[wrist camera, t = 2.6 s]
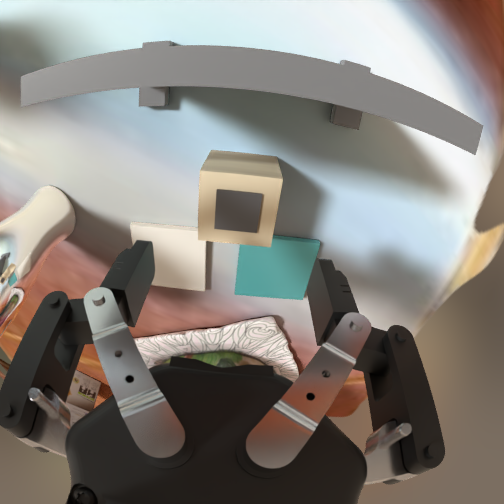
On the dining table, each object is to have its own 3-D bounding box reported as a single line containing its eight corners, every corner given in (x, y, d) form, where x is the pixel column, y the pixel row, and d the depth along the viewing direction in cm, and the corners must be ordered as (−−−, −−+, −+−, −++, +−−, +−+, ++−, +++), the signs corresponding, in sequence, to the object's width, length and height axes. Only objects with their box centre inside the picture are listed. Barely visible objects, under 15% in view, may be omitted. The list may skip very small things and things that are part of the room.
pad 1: (132, 221, 23) (130, 225, 23) (207, 228, 24) (205, 232, 23) (141, 279, 28) (139, 283, 27) (205, 287, 28) (204, 291, 27)
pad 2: (241, 231, 24) (241, 235, 24) (319, 240, 25) (320, 243, 24) (234, 290, 28) (234, 294, 28) (301, 295, 29) (302, 299, 28)
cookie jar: (310, 393, 43) (323, 559, 17) (187, 407, 48) (173, 549, 22) (274, 305, 30) (284, 615, 4) (106, 336, 34) (54, 539, 8)
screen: (147, 44, 15) (24, 28, 4) (365, 68, 16) (491, 80, 5) (143, 105, 17) (25, 156, 7) (354, 127, 18) (459, 200, 8)
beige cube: (211, 149, 20) (199, 171, 16) (276, 156, 20) (283, 180, 16) (207, 208, 23) (197, 243, 19) (267, 214, 23) (270, 250, 19)
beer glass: (82, 193, 22) (-20, 309, 9) (78, 249, 25) (7, 362, 13) (31, 173, 20) (-71, 265, 8) (31, 227, 24) (-44, 323, 11)
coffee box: (73, 367, 42) (50, 436, 29) (102, 382, 44) (82, 452, 31) (71, 381, 46) (52, 441, 33) (96, 393, 48) (79, 454, 35)
